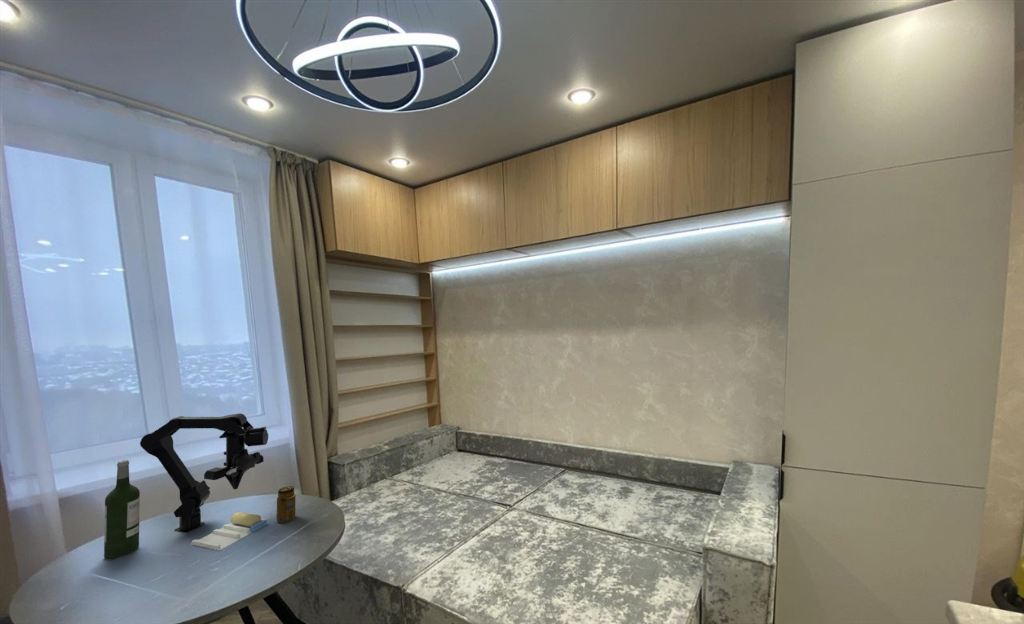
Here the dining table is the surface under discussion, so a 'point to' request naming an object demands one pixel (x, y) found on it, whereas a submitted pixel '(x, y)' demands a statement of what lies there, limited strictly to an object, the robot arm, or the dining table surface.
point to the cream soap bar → (245, 519)
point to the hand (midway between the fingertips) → (235, 489)
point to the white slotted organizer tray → (227, 535)
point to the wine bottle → (121, 516)
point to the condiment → (286, 505)
